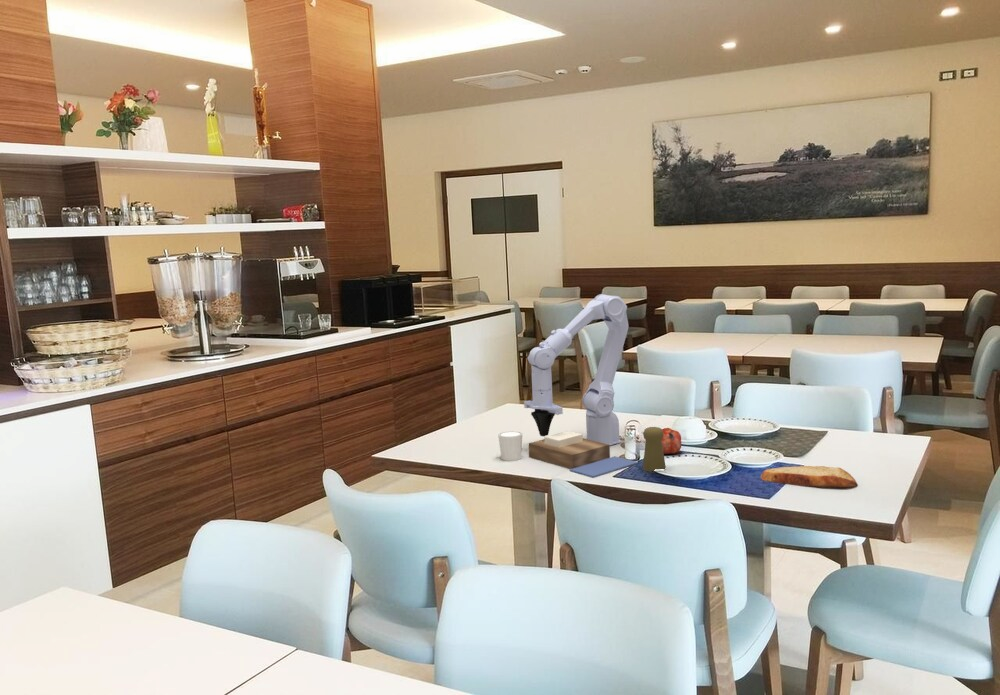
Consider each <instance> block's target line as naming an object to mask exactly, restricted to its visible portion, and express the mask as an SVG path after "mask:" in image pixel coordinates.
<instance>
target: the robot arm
mask: <svg viewBox="0 0 1000 695" xmlns="http://www.w3.org/2000/svg"><path fill="white" fill-rule="evenodd" d="M627 310H628V305H627V304H626V303H625V301H624V300H623V298H622V297H620V296H618V295H610V294H609V295H608V294H605V293H600V294H597V295H596V296H595V297H594V298H593V299H592V300H590V301H588V303H587V304H586V306H585V307H584V308H583V309H582V310H580V312H578V314H577V315H576V316H575V317H574V318H573V319H572V320H570V322H569V323H568V324H567V325H566V326H565V327H564V328H557V329H556V330H555V329H553V330H552V331H551V332H550V335H549V336H548V337H547V338H546V339H545V340H544V341H540V343H539V344H538V346H537V347H536V346H535V347H533V348H532V349H531V350H530V352H529V354H528V356H527V360H528V363H529V364H530V365H531V385H532V386H531V390H532V393H531V394H532V400H524V402H523V404H524V405H523V406H524V407H523V408H524V409H532V410H534V411H531V413H530V416H531V417H532V418H533V419H534V422H535V424H536V426H537V430H538V432H539V436H540V437H546V436H549V432H550V428H551V424H552V421H553V419H554V417H555V416H558V415H563V414H564V413H563V412H564V410H563V406H560V405H557V404H555V403H553V402H554V401H553V400H554V399H553V380H552V379H553V378H552V366H553V365H554V363H555V359H556V358H557V357H558V356H559V355H561V354H562V352H564V351H565V350H566V349H567V348H568V347H569V346H570V345H572V342H573V337H574V336H575V335H577V334H578V333H579V332H580V331H582V329H583V328H585V327H586V326H588V324H590V323H591V322H592V321H596V320H600V319H601V320H603V321H604V323H605V325H606V326H607V327H608V331H607V335H606V339H605V340H604V345H603V349H602V352H601V354H600V360H599V363H598V367H597V370H596V374H595V376H594V380H592V382H591V383H590V384H588V385H589V386H588V388H587V390H586V392H585V393H583V396H582V400H581V401H582V406H583V407H584V408H585V409H586V412H585V421H586V422H585V425H586V439H588V440H593V441H597V442H601V443H605V444H610V446H613V445H617V444H620V443H622V440H620V423H619V418H618V416H617V414H616V413H614V412H613V411H614V406H615V401H614V397H615V390H614V387H613V385H614V384H613V382H614V380H615V376H616V372H617V370H618V366H619V362H620V360H621V356H622V351H623V349H624V344H625V341H626V339H627V336H628V335H627V334H628V331H629V320H628V315H627Z"/></svg>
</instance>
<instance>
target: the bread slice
mask: <svg viewBox="0 0 1000 695" xmlns="http://www.w3.org/2000/svg"><path fill="white" fill-rule="evenodd" d="M759 478H761V479H762V480H761V479H760V480H761V481H763V480H764V482H769V481H770V483H774V482H777V483H776V484H782V483H783V485H789V486H790V485H791V486H800V487H809V488H818V489H819V488H821V489H822V487H823V488H827V489H828V488H829V489H833V488H835V489H850V488H856V487H858V486H859V485H858V483H857V481H856V479H855V478H854V477H853V476H852V475H851V474H850V473H849V472H848V471H846V470H845V469H843V468H841V467H833V466H831V467H830V466H824V465H815V466H814V465H800V466H782V467H781V466H779V467H773V468H767V469H765V470H763V472H762V473H761V474H760V477H759Z"/></svg>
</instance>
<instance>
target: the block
mask: <svg viewBox="0 0 1000 695" xmlns="http://www.w3.org/2000/svg"><path fill="white" fill-rule="evenodd" d="M543 437H544V442H545V444H547V445H550V446H554V447H558V448H560V447H564V446H567V445H571V444H575V443H578V442H582V441H583V438H584V437H583V434H582V433H577V432H574V431H568V430H566V431H563V432H558V433H555V434H550V435H547V436H543Z"/></svg>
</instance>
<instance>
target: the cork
mask: <svg viewBox="0 0 1000 695" xmlns="http://www.w3.org/2000/svg"><path fill="white" fill-rule="evenodd" d="M662 429H663V428H661V427H658V426H647V427H646V428H645V429H644V430H643V439H644V440H645V442H644V445H645V446H644V453H643V460H642V461H643V463H642V470H643V471H646V472H650V473H652V471H653V473H655V472H654V470H655V469H665V468H666V469H667V467H666V460H665V454H664V453H663V447H662V439H663V430H662ZM666 469H665V470H666Z"/></svg>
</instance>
